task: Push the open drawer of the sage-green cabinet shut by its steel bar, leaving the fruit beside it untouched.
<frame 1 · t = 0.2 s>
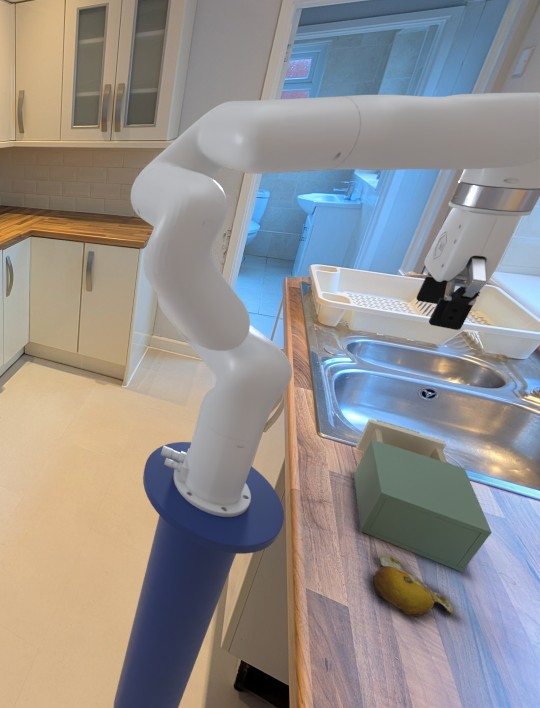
hand: (436, 313, 63), 33 cm above the countertop, tool pointing down, fingers open, 9 cm apart
drawer: (401, 457, 76), point 4 cm above the countertop, slide at 7.0 cm
cabinet: (401, 518, 69), on the countertop
fruit: (409, 594, 59), on the countertop
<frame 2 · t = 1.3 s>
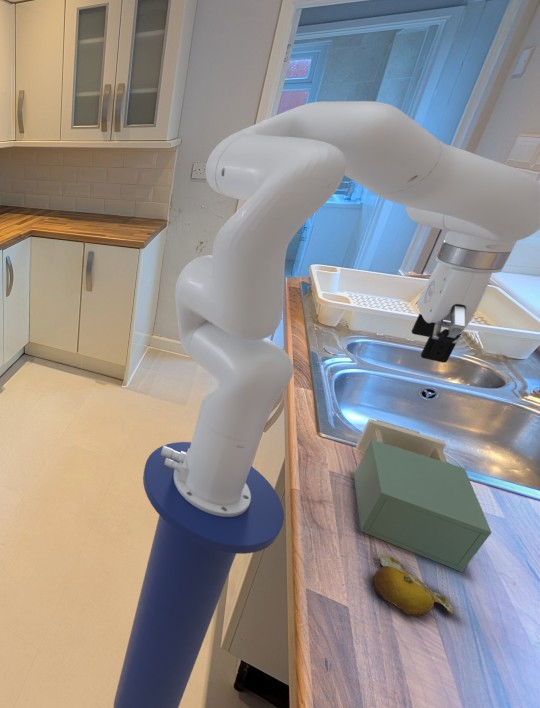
hand: (427, 346, 76), 22 cm above the countertop, tool pointing down, fingers open, 9 cm apart
nothing on the countertop moved.
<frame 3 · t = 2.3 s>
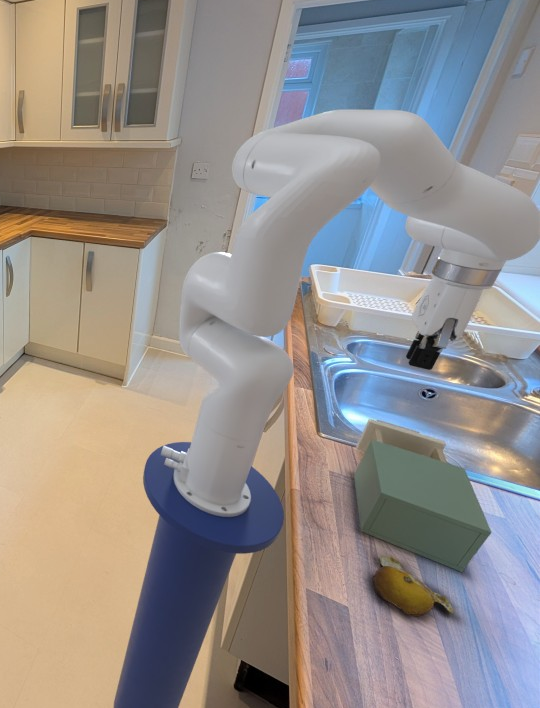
hand: (418, 363, 80), 17 cm above the countertop, tool pointing down, fingers closed
nothing on the countertop moved.
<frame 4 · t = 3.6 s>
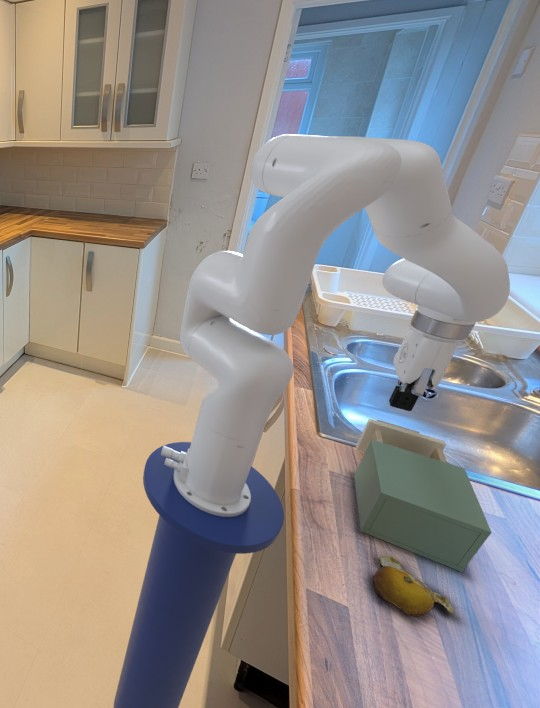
hand: (399, 406, 83), 8 cm above the countertop, tool pointing down, fingers closed
nothing on the countertop moved.
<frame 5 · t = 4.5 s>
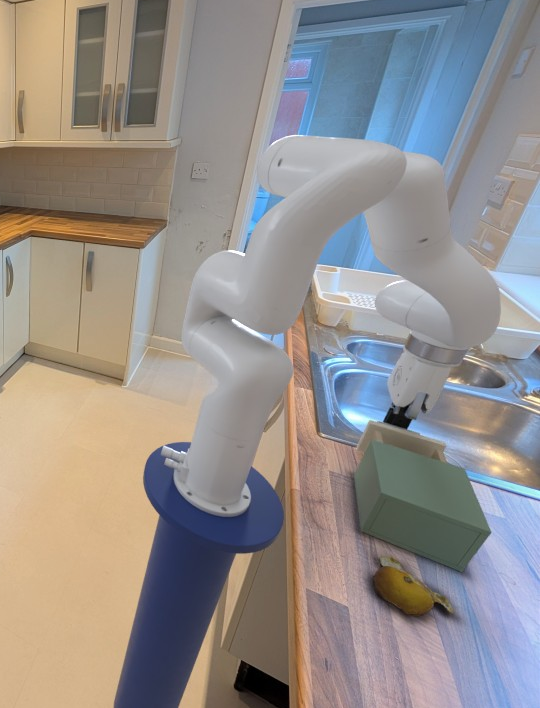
hand: (393, 428, 83), 4 cm above the countertop, tool pointing down, fingers closed
drawer: (402, 458, 75), point 4 cm above the countertop, slide at 6.6 cm, touching gripper
everything else where it was.
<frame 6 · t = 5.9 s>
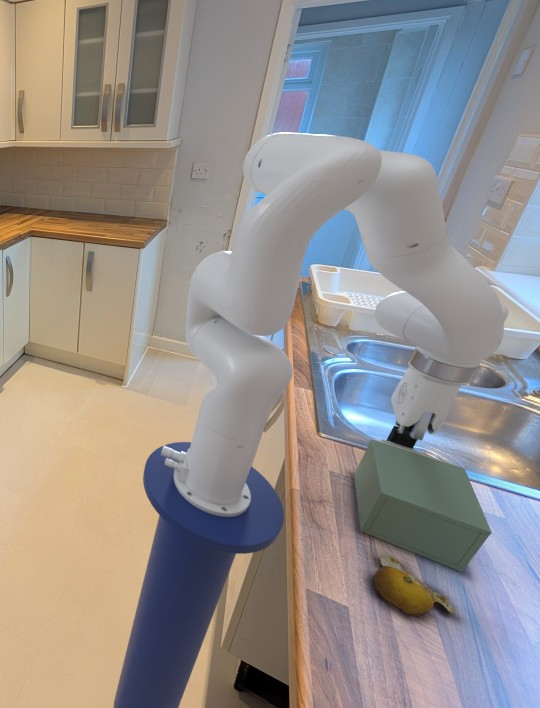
hand: (397, 447, 79), 4 cm above the countertop, tool pointing down, fingers closed
drawer: (408, 481, 71), point 4 cm above the countertop, slide at 0.5 cm, touching gripper
everything else where it was.
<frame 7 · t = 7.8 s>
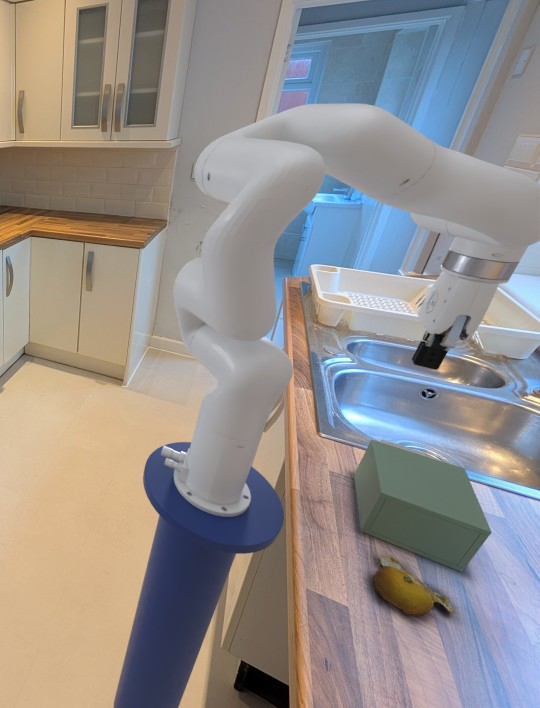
hand: (424, 364, 74), 20 cm above the countertop, tool pointing down, fingers closed
drawer: (408, 481, 71), point 4 cm above the countertop, slide at 0.5 cm
everything else where it was.
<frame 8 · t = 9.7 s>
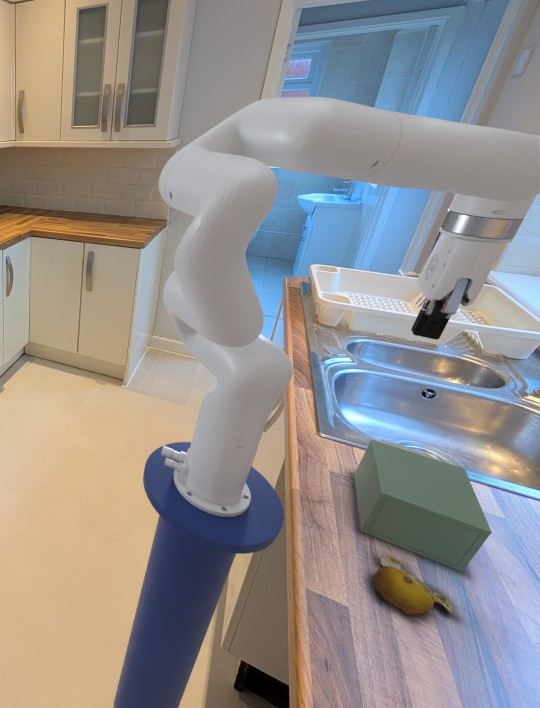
hand: (424, 335, 70), 27 cm above the countertop, tool pointing down, fingers closed
nothing on the countertop moved.
at the end: drawer slide at 0.5 cm; fruit moved 0.2 cm from its start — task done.
